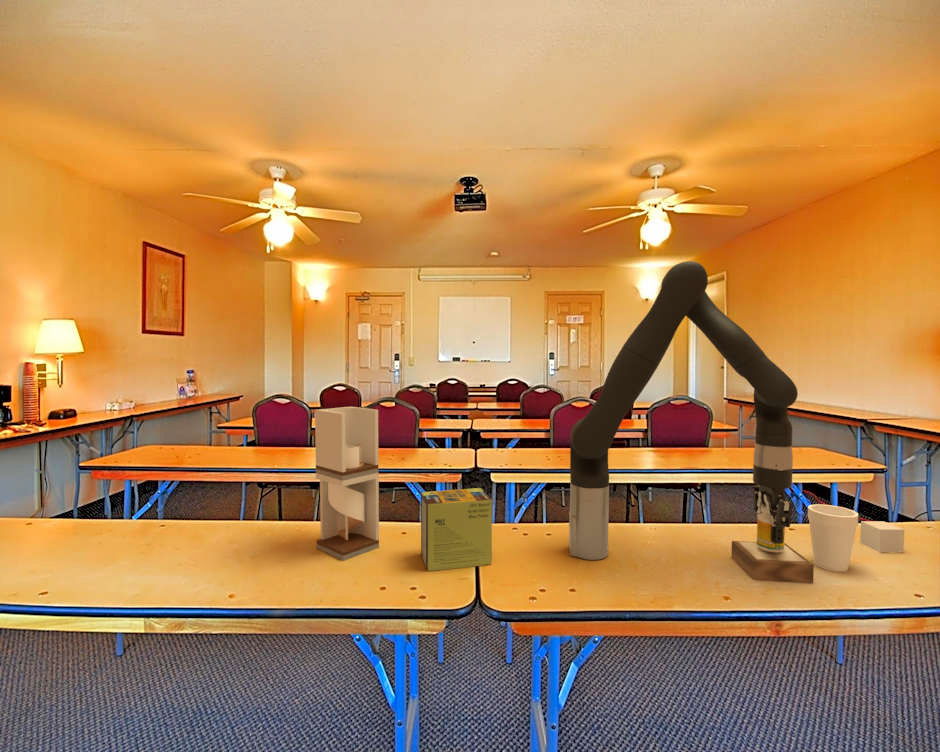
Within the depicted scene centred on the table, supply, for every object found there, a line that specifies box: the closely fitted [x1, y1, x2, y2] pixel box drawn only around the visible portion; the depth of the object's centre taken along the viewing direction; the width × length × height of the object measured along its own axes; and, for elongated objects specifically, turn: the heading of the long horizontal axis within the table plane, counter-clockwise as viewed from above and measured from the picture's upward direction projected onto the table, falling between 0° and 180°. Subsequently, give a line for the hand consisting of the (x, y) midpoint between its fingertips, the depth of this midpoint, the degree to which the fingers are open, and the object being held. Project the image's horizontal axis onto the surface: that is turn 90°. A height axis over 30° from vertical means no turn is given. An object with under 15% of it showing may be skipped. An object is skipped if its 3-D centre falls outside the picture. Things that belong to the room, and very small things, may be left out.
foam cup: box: [807, 503, 859, 573], centre depth 113 cm, size 10×9×13 cm
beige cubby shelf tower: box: [314, 406, 380, 562], centre depth 123 cm, size 11×11×35 cm
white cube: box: [859, 520, 905, 553], centre depth 124 cm, size 6×6×6 cm
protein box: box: [420, 487, 493, 572], centre depth 117 cm, size 10×15×16 cm
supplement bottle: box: [756, 505, 786, 552], centre depth 111 cm, size 5×5×10 cm
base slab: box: [730, 540, 815, 584], centre depth 111 cm, size 12×12×4 cm
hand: (770, 537), depth 111 cm, fingers closed on supplement bottle, 5 cm apart
